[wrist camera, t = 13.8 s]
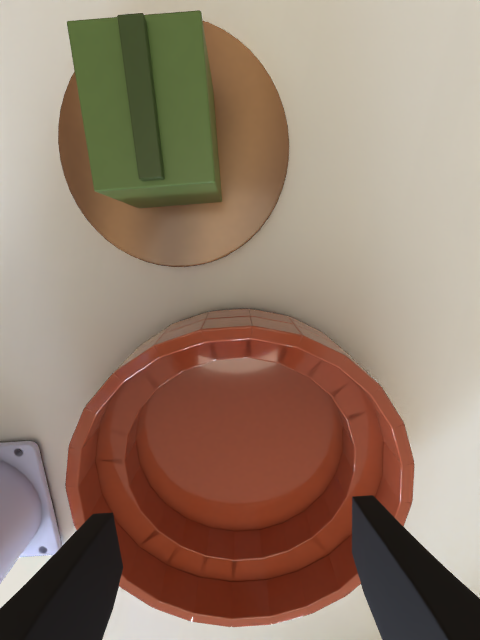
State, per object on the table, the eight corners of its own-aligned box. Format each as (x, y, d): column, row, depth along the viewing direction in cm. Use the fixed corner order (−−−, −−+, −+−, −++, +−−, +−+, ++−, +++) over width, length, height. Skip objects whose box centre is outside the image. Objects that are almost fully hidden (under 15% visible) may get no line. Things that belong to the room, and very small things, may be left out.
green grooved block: (137, 208, 16) (88, 189, 11) (122, 94, 15) (58, 11, 10) (222, 202, 16) (214, 179, 11) (212, 87, 15) (199, -1, 10)
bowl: (126, 556, 21) (98, 636, 17) (82, 318, 18) (31, 341, 13) (371, 540, 21) (406, 617, 17) (377, 296, 18) (423, 313, 13)
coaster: (85, 273, 17) (80, 274, 17) (43, 32, 15) (35, 23, 14) (291, 258, 17) (293, 258, 17) (282, 13, 15) (284, 4, 14)
